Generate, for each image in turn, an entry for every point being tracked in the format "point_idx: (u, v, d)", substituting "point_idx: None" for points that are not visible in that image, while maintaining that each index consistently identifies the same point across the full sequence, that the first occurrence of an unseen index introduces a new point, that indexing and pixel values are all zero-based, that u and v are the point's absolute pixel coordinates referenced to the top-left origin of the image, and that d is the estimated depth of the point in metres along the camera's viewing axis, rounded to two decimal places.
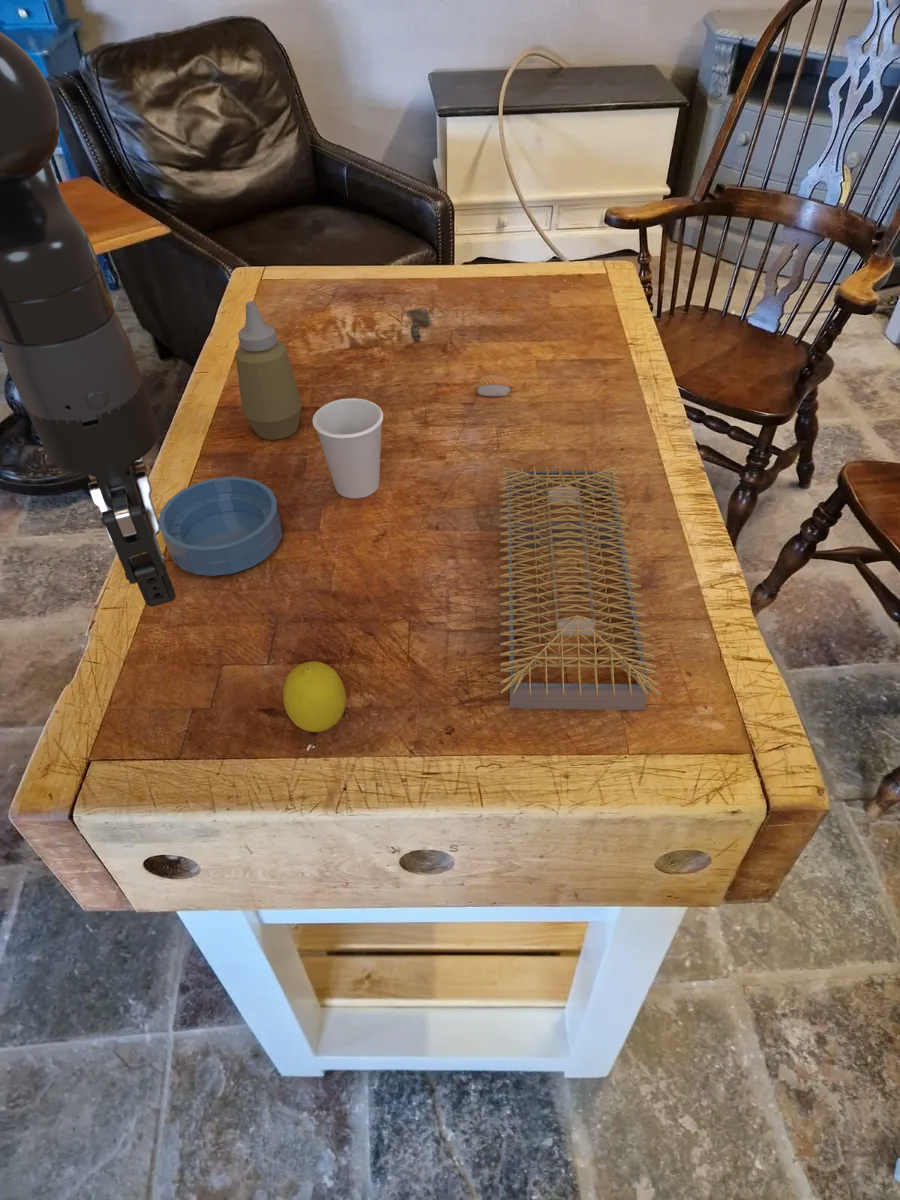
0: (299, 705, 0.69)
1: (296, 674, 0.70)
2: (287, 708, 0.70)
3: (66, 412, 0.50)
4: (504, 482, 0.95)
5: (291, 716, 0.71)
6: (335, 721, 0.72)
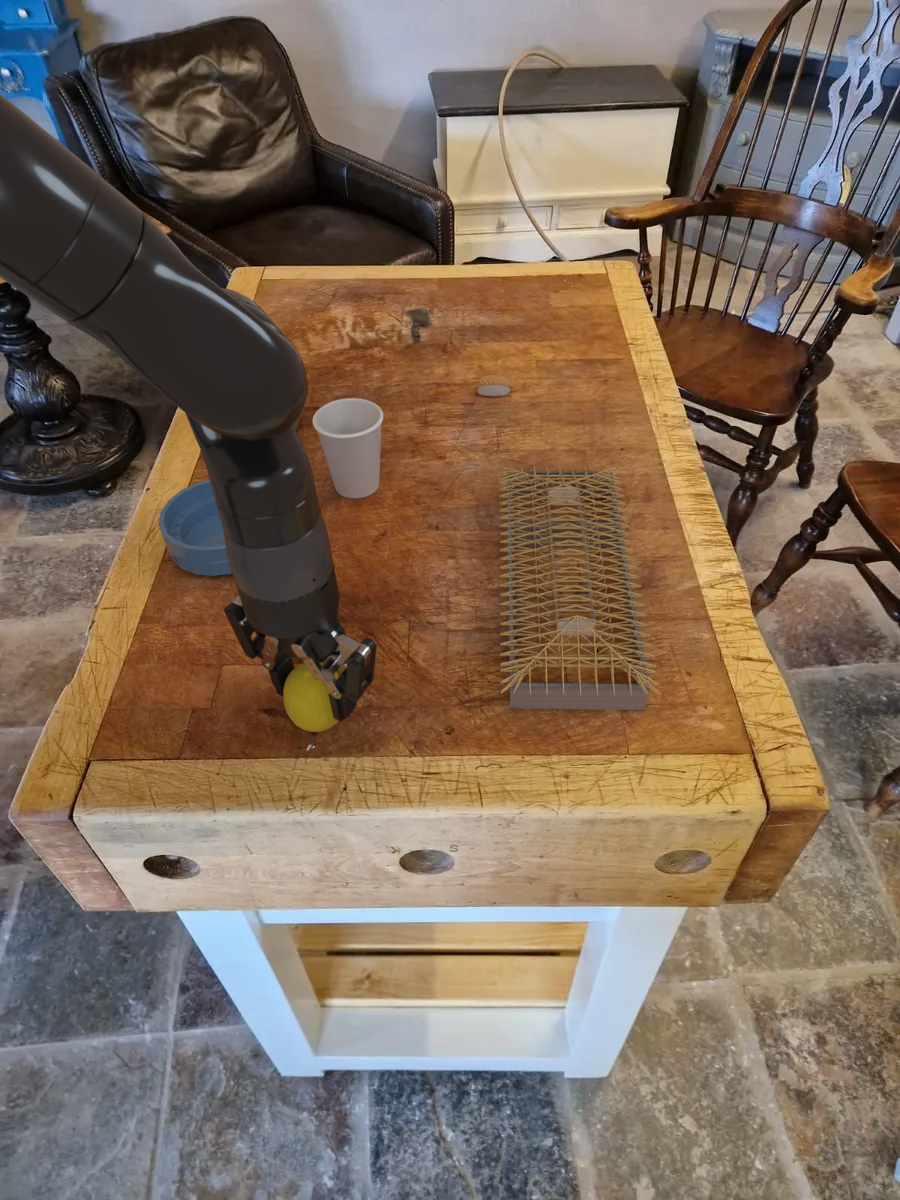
0: (299, 705, 0.69)
1: (296, 674, 0.70)
2: (287, 708, 0.70)
3: (313, 584, 0.58)
4: (504, 482, 0.95)
5: (291, 716, 0.71)
6: (335, 721, 0.72)
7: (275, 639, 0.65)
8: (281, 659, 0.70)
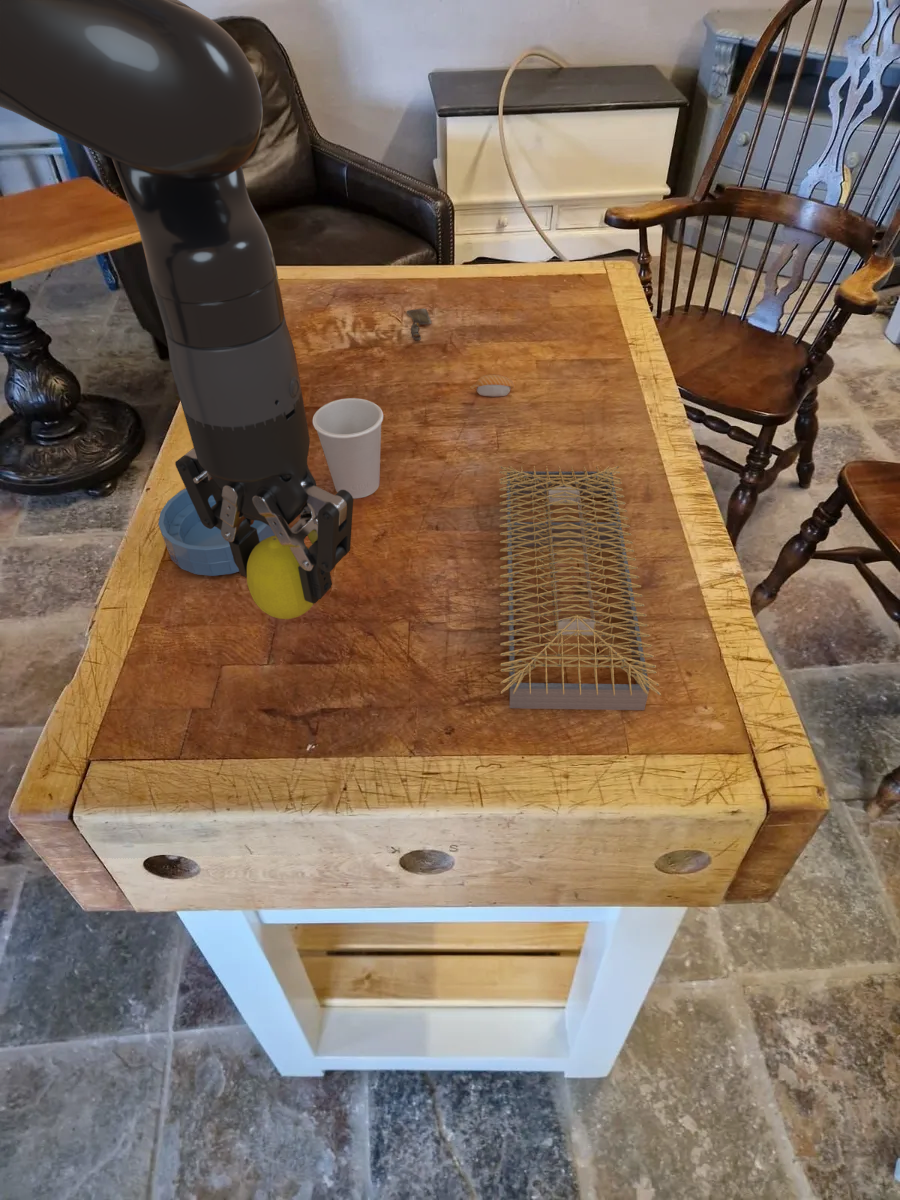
0: (264, 582, 0.59)
1: (261, 546, 0.60)
2: (251, 587, 0.60)
3: (275, 408, 0.48)
4: (504, 482, 0.95)
5: (255, 597, 0.61)
6: (307, 605, 0.62)
7: (234, 492, 0.55)
8: (244, 530, 0.60)
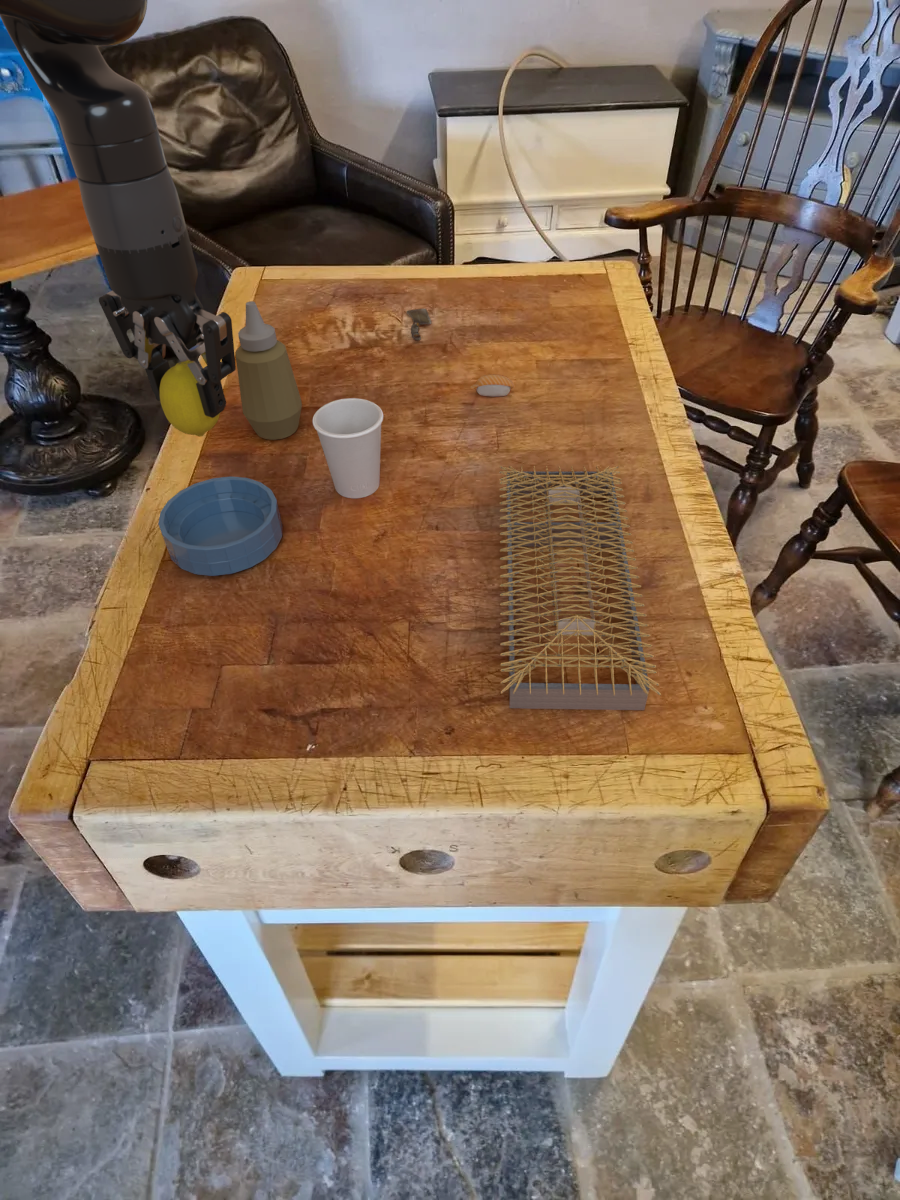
0: (171, 397, 0.75)
1: (169, 370, 0.76)
2: (162, 404, 0.77)
3: (161, 236, 0.65)
4: (504, 482, 0.95)
5: (166, 412, 0.77)
6: (208, 421, 0.78)
7: (141, 316, 0.71)
8: (157, 359, 0.77)
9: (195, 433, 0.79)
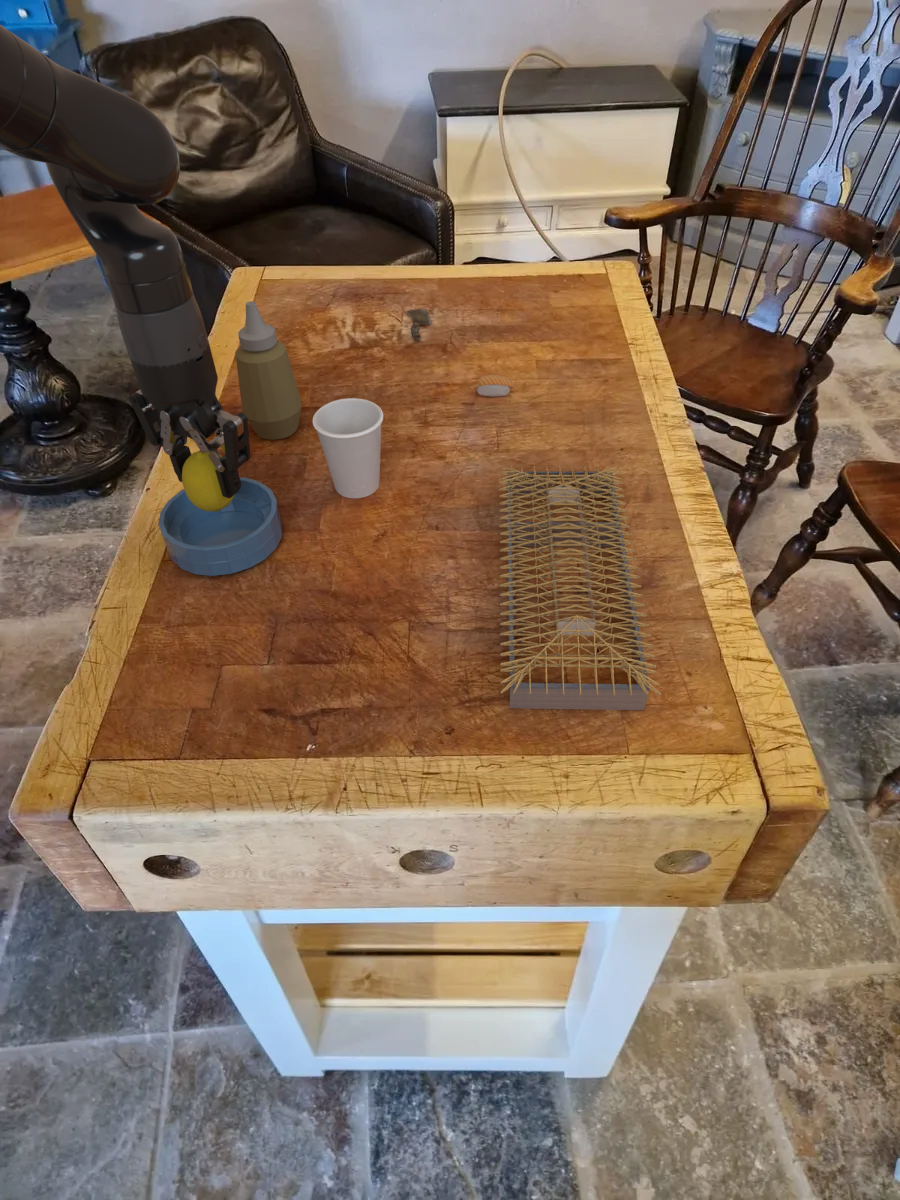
0: (193, 481, 0.85)
1: (191, 456, 0.86)
2: (184, 487, 0.86)
3: (188, 353, 0.74)
4: (504, 482, 0.95)
5: (188, 494, 0.87)
6: (225, 500, 0.87)
7: (167, 415, 0.80)
8: (179, 447, 0.86)
9: (213, 510, 0.88)
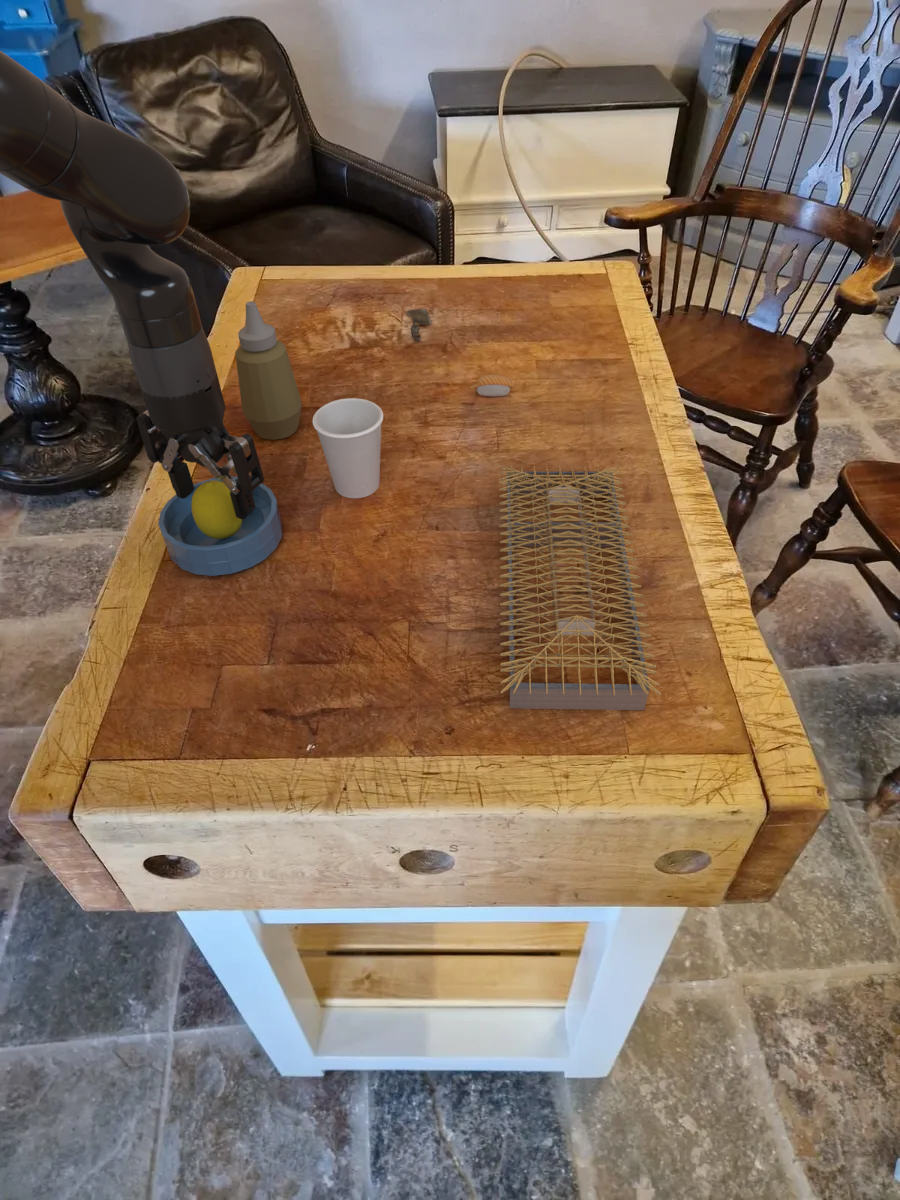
0: (202, 511, 0.88)
1: (200, 487, 0.88)
2: (194, 516, 0.89)
3: (197, 385, 0.77)
4: (504, 482, 0.95)
5: (197, 522, 0.89)
6: (233, 529, 0.90)
7: (176, 443, 0.83)
8: (177, 464, 0.89)
9: (221, 538, 0.91)
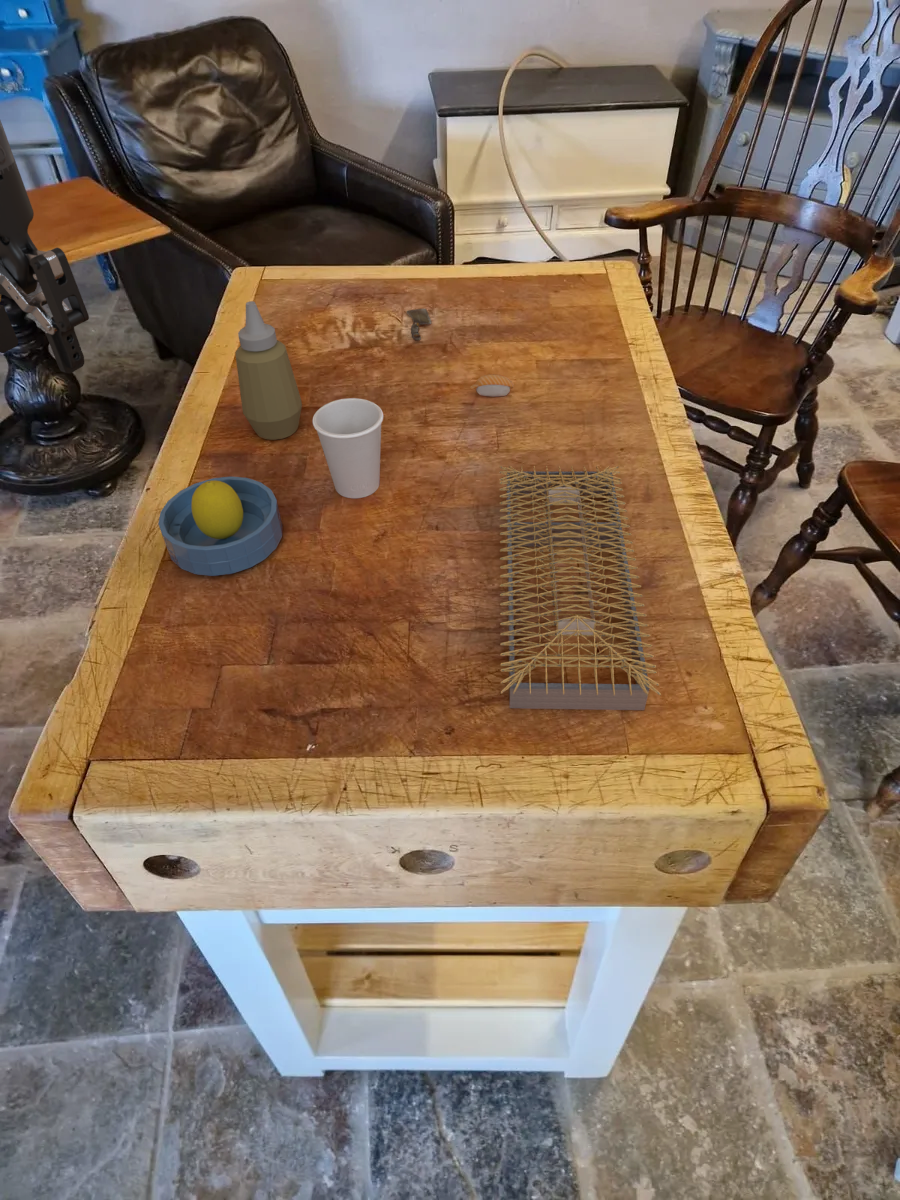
0: (202, 511, 0.88)
1: (200, 487, 0.88)
2: (194, 516, 0.89)
3: None
4: (504, 482, 0.95)
5: (197, 522, 0.89)
6: (233, 529, 0.90)
7: None
8: None
9: (221, 538, 0.91)
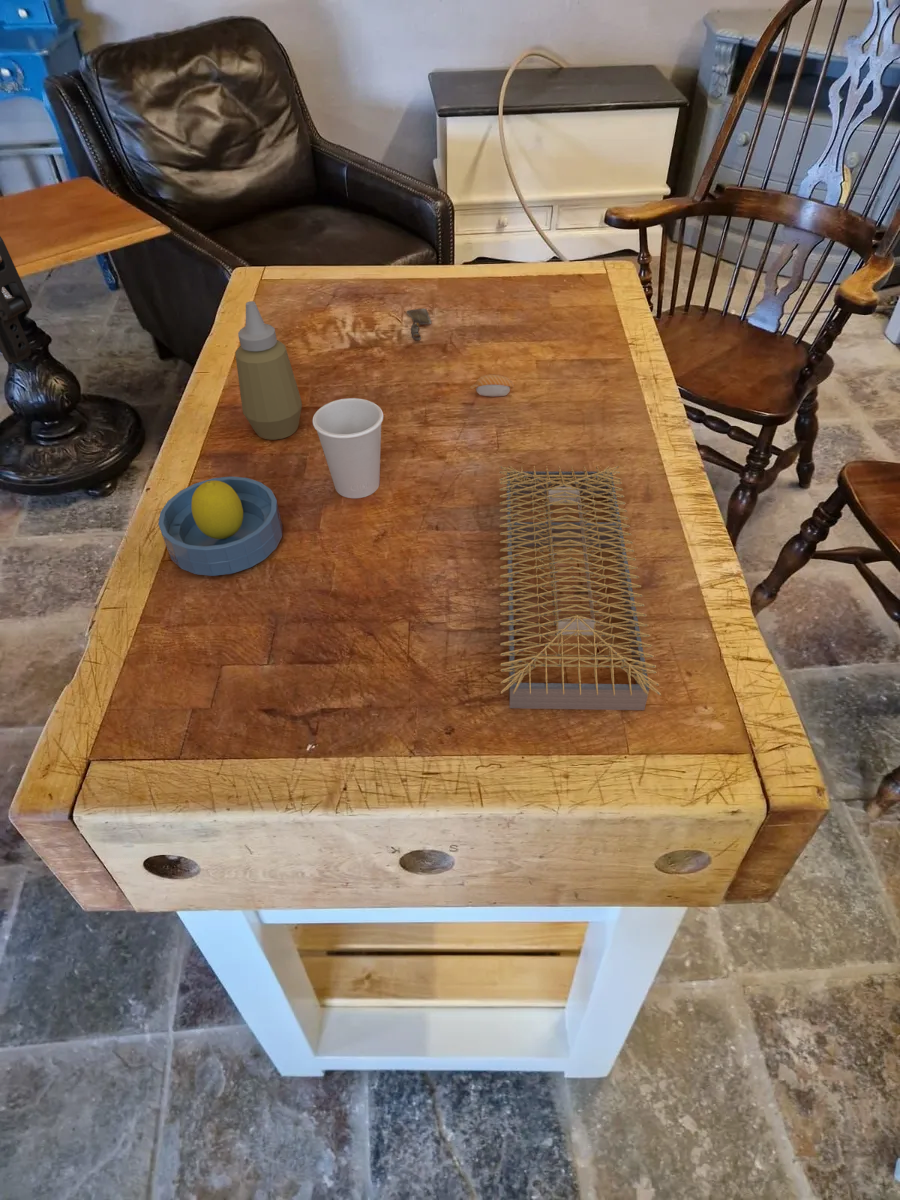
0: (202, 511, 0.88)
1: (200, 487, 0.88)
2: (194, 516, 0.89)
3: None
4: (504, 482, 0.95)
5: (197, 522, 0.89)
6: (233, 529, 0.90)
7: None
8: None
9: (221, 538, 0.91)
